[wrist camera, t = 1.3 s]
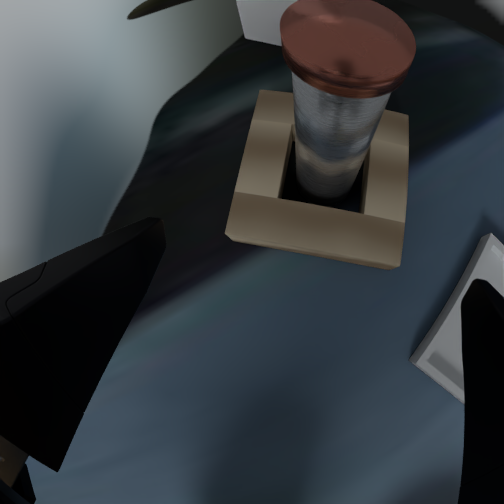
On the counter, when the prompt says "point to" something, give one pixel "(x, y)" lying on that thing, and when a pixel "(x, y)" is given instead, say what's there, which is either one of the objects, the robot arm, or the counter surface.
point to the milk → (262, 19)
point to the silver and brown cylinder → (340, 86)
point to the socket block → (314, 216)
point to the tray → (458, 320)
